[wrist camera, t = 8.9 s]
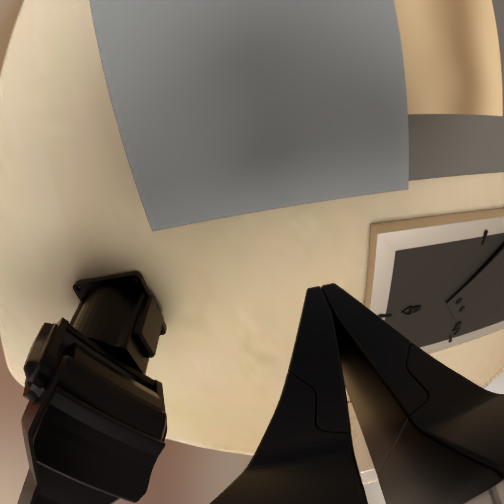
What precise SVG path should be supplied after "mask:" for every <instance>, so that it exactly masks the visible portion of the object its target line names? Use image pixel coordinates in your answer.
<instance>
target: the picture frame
mask: <svg viewBox="0 0 504 504" xmlns="http://www.w3.org/2000/svg"><path fill="white" fill-rule="evenodd" d="M364 306H366V307H367V308H368V309H370V310H371V311H372V312H374V313H375V314H376V315H378V316H379V317H380V318H382V319H383V320H384V321H386V322H387V323H388V324H390V325H391V326H392V327H393V328H395V329H396V330H397V331H399V332H400V333H401V334H403V335H404V336H405V337H406V338H408V339H409V340H410V341H411V342H413V343H414V344H416V345H417V346H418V347H420V348H421V349H422V350H424V351H425V352H426V353H428V354H430V353H433V352H437V351H440V350H443V349H447V348H450V347H453V346H456V345H459V344H462V343H465V342H468V341H471V340H474V339H477V338H480V337H482V336H485V335H488V334H491V333H493V332H496V331H498V330H501V329H504V208H497V209H489V210H480V211H472V212H463V213H455V214H447V215H439V216H431V217H423V218H415V219H407V220H399V221H391V222H384V223H376V224H371V225H370V244H369V258H368V271H367V282H366V292H365V301H364Z"/></svg>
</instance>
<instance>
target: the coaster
mask: <svg viewBox="0 0 504 504" xmlns="http://www.w3.org/2000/svg"><path fill="white" fill-rule="evenodd" d="M394 4H395V9H396V15H397V20H398V26H399V32H400V39H401V46H402V53H403V61H404V71H405V81H406V93H407V108H408V114H471V115H491V116H503V96H502V72H501V60H500V49H499V41H498V34H497V27H496V21H495V15H494V10H493V5H492V0H394Z"/></svg>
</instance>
